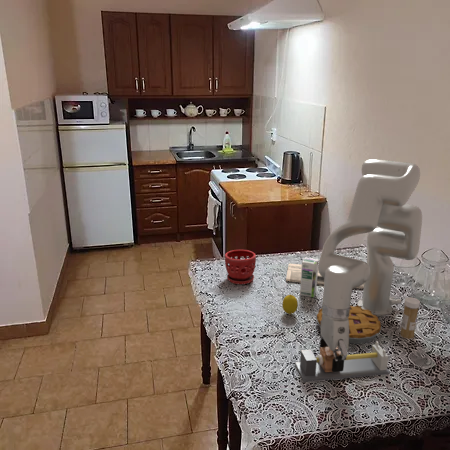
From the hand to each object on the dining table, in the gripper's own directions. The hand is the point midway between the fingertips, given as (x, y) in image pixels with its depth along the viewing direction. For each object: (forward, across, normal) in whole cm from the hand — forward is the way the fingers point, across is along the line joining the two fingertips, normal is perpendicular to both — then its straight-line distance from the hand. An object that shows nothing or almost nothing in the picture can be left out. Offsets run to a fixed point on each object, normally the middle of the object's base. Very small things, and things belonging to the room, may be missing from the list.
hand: (330, 360), depth 125 cm
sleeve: (+2, 0, 0) cm, 2 cm away
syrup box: (+4, +48, -10) cm, 49 cm away
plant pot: (+4, +64, +16) cm, 66 cm away
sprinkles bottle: (+4, +14, -32) cm, 36 cm away
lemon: (+4, +33, +3) cm, 33 cm away
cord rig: (+3, 0, -4) cm, 5 cm away
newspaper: (+5, +62, -24) cm, 67 cm away
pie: (+4, +21, -14) cm, 26 cm away
